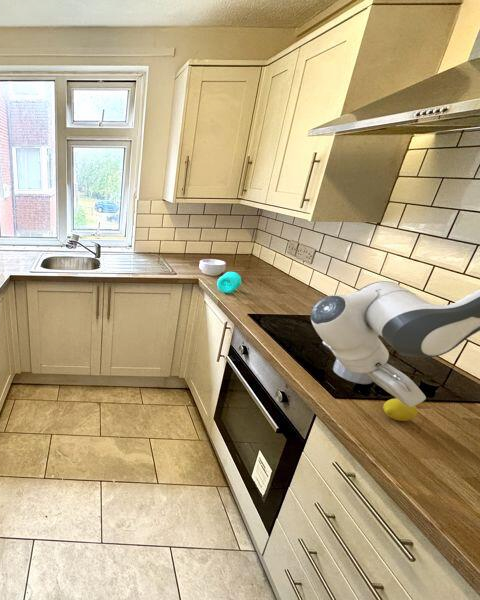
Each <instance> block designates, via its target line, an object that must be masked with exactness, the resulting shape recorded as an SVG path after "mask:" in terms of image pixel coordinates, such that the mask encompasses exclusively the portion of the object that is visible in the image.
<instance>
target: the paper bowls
mask: <svg viewBox="0 0 480 600" xmlns="http://www.w3.org/2000/svg"><path fill="white" fill-rule="evenodd" d="M226 266H227V262H226V261H224V260H221V259H214V258H204V259H203V258H202V259H201V260H200V261H199V266H198V268H199V270H201V272H202V274H204V275H205V276H212V277H213V276H215V277H217V276H220V275H221V273H223V272H225V271H226Z"/></svg>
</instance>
